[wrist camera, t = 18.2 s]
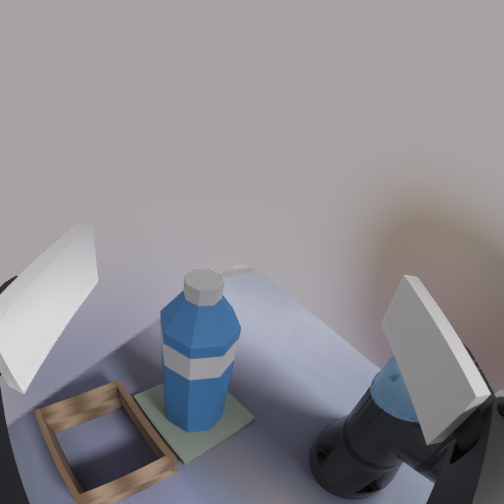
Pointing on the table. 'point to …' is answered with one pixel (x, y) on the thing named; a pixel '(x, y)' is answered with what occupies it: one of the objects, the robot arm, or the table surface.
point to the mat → (193, 442)
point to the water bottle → (198, 351)
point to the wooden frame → (90, 407)
